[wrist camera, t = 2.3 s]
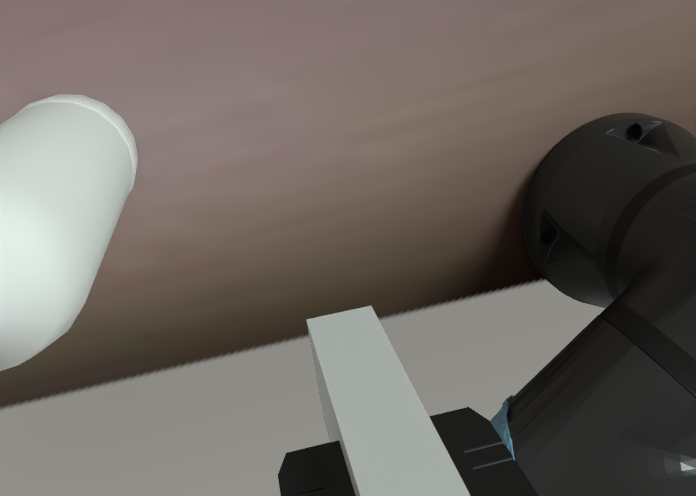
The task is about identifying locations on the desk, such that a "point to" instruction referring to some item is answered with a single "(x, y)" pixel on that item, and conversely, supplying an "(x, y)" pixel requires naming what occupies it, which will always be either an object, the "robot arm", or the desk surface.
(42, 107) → the bottle
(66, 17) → the desk surface
